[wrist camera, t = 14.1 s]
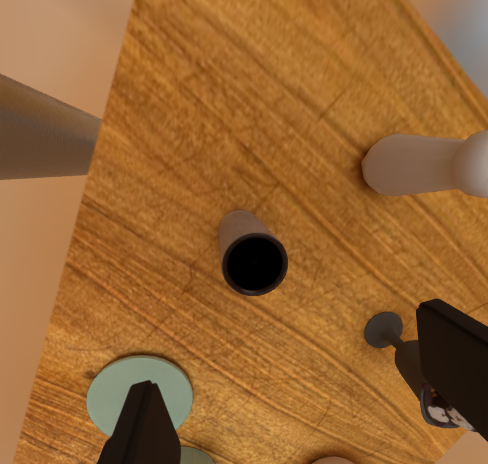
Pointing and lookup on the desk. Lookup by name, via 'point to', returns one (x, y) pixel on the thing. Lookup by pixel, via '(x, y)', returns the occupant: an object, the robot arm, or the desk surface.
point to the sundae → (413, 371)
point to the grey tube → (250, 254)
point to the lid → (131, 372)
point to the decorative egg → (332, 461)
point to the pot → (194, 456)
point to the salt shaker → (428, 165)
